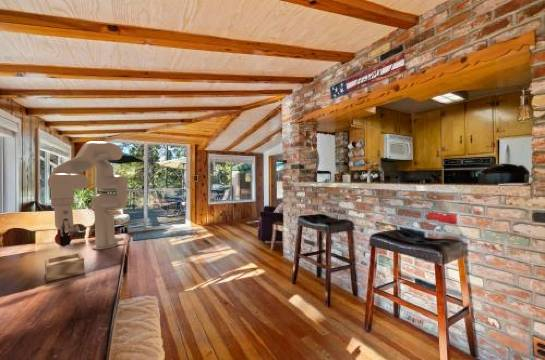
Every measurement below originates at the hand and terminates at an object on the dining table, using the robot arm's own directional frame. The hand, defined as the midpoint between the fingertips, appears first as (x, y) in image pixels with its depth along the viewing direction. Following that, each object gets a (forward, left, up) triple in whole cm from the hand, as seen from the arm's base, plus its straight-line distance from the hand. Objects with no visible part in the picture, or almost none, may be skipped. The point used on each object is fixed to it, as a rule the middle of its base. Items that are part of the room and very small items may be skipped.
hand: (63, 243), depth 106 cm
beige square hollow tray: (0, 0, -13) cm, 13 cm away
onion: (0, 0, -2) cm, 2 cm away
